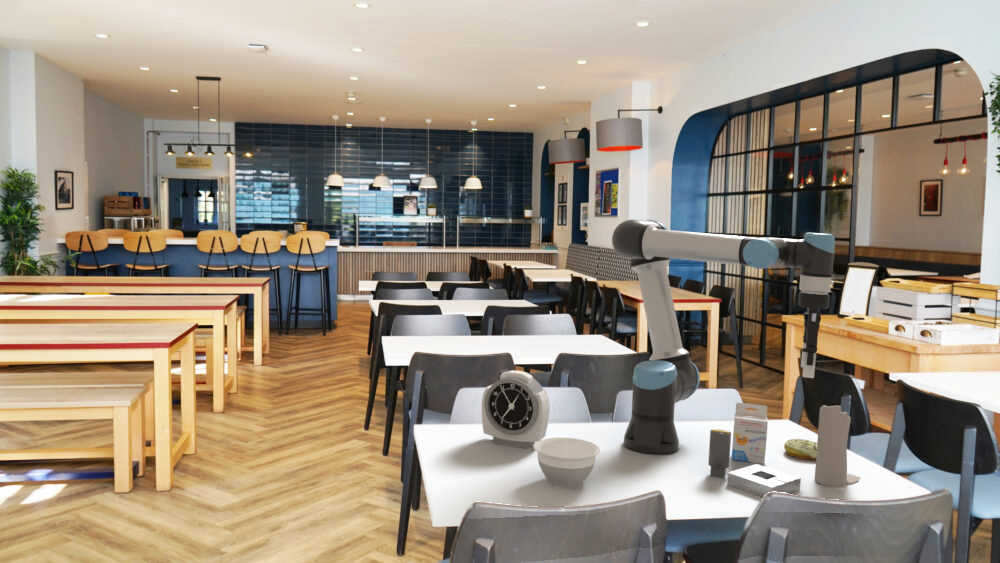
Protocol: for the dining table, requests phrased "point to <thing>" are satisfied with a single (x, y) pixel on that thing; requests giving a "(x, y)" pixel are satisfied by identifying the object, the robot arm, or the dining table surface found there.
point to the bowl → (566, 460)
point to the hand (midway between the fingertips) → (807, 372)
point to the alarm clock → (515, 410)
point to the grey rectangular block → (719, 452)
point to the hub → (763, 480)
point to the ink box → (750, 433)
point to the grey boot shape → (833, 448)
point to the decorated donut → (801, 449)
